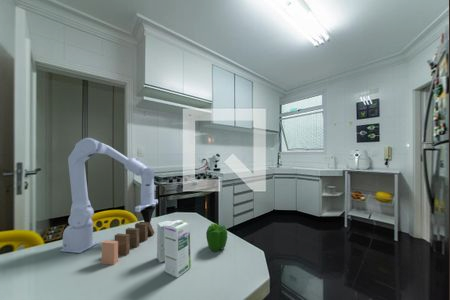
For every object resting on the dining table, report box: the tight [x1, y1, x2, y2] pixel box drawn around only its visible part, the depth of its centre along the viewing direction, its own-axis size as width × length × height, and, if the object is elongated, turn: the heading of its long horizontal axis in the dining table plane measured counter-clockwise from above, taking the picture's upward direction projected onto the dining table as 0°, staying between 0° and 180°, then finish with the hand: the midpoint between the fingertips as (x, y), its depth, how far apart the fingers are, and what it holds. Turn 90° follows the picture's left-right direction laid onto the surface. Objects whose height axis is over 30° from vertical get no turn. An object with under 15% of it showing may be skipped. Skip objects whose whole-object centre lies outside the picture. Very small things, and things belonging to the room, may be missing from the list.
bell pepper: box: [205, 222, 228, 252], centre depth 69 cm, size 8×8×10 cm
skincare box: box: [156, 219, 176, 263], centre depth 63 cm, size 6×4×12 cm
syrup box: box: [164, 219, 192, 278], centre depth 56 cm, size 6×6×14 cm
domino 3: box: [125, 227, 140, 249], centre depth 71 cm, size 2×5×7 cm, turn 79°
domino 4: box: [134, 222, 149, 242], centre depth 77 cm, size 2×5×7 cm, turn 79°
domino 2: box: [114, 233, 130, 257], centre depth 66 cm, size 2×5×7 cm, turn 79°
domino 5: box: [138, 221, 155, 237], centre depth 80 cm, size 2×5×7 cm, turn 80°
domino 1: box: [101, 239, 119, 266], centre depth 60 cm, size 2×5×7 cm, turn 80°
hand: (147, 223), depth 82 cm, fingers closed
